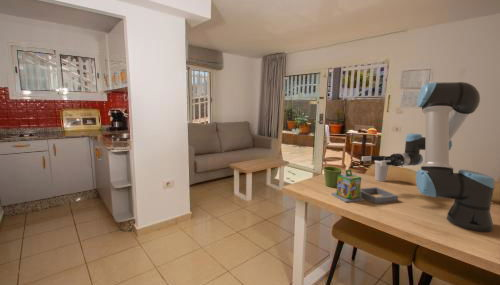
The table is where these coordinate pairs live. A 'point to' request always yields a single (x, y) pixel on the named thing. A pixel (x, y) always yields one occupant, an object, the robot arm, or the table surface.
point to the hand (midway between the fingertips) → (371, 160)
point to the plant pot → (331, 176)
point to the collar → (385, 195)
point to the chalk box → (348, 185)
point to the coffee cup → (380, 171)
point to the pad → (348, 199)
